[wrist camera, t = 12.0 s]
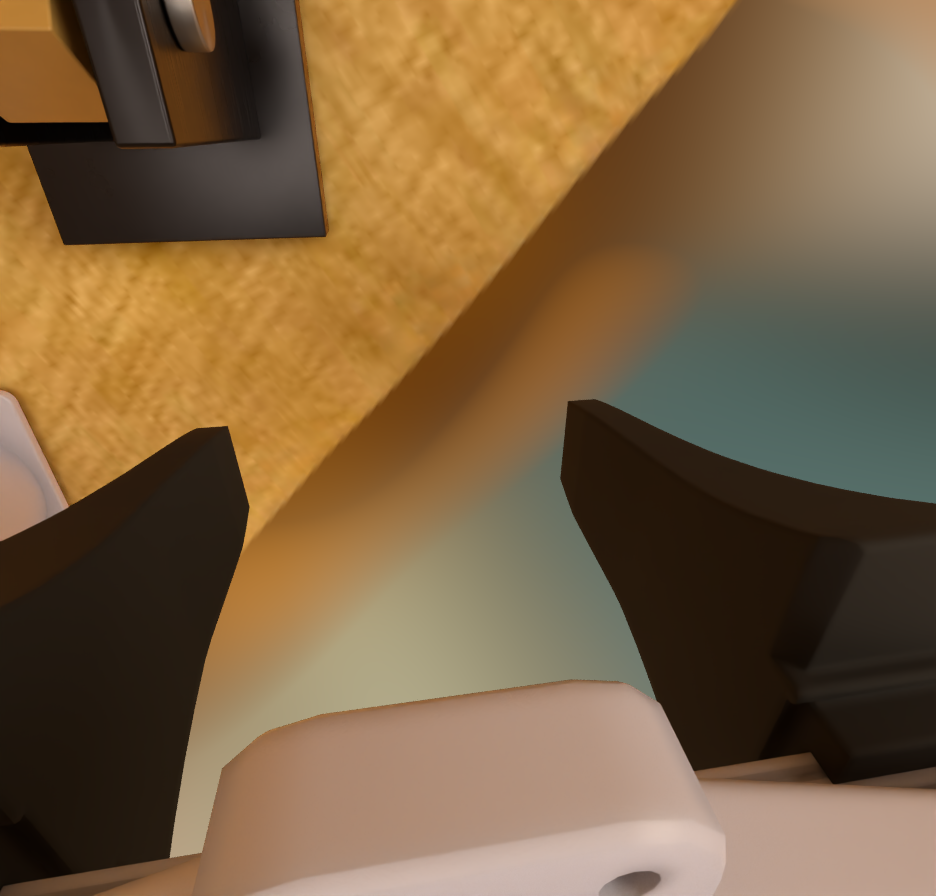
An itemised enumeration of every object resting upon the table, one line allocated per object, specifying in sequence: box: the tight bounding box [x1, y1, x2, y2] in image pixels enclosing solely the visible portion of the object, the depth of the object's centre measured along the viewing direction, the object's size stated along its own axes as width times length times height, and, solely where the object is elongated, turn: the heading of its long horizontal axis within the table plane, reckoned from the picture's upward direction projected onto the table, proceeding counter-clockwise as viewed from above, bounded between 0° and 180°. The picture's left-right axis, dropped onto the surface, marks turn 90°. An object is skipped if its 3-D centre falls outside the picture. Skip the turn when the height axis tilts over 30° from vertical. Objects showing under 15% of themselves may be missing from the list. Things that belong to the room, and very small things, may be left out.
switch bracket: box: [0, 0, 329, 245], centre depth 12 cm, size 10×8×9 cm
